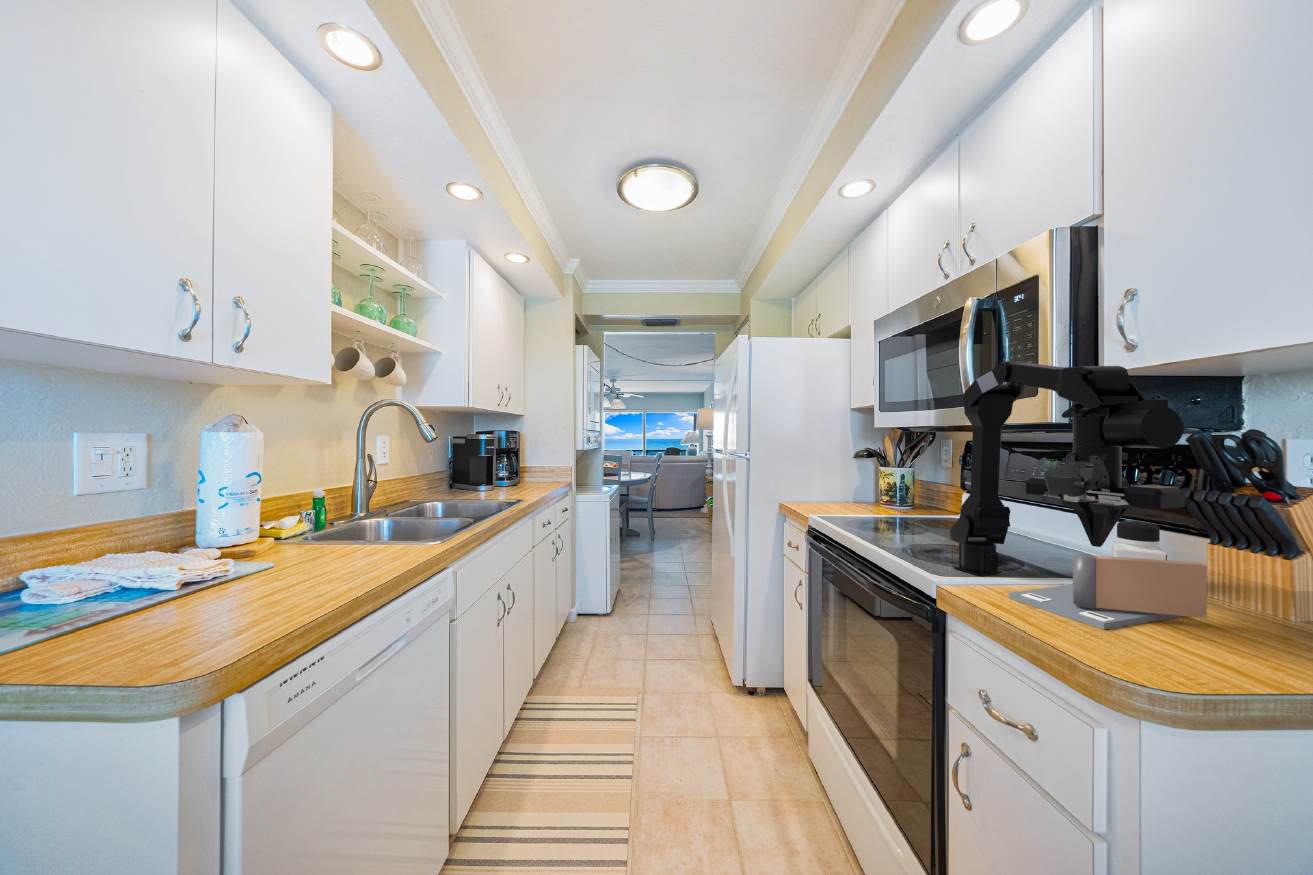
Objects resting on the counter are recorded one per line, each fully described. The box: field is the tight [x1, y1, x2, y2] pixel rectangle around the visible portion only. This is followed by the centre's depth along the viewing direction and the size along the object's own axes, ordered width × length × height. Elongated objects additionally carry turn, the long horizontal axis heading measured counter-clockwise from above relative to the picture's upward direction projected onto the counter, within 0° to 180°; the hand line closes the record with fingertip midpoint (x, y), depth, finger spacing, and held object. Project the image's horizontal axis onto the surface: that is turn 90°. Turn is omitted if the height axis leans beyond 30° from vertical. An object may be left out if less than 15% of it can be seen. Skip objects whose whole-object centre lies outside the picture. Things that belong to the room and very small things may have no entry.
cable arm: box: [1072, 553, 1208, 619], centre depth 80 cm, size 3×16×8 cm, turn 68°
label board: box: [1008, 583, 1182, 631], centre depth 85 cm, size 15×20×1 cm
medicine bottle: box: [1110, 520, 1168, 560], centre depth 98 cm, size 7×7×12 cm
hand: (1096, 546), depth 78 cm, fingers closed
